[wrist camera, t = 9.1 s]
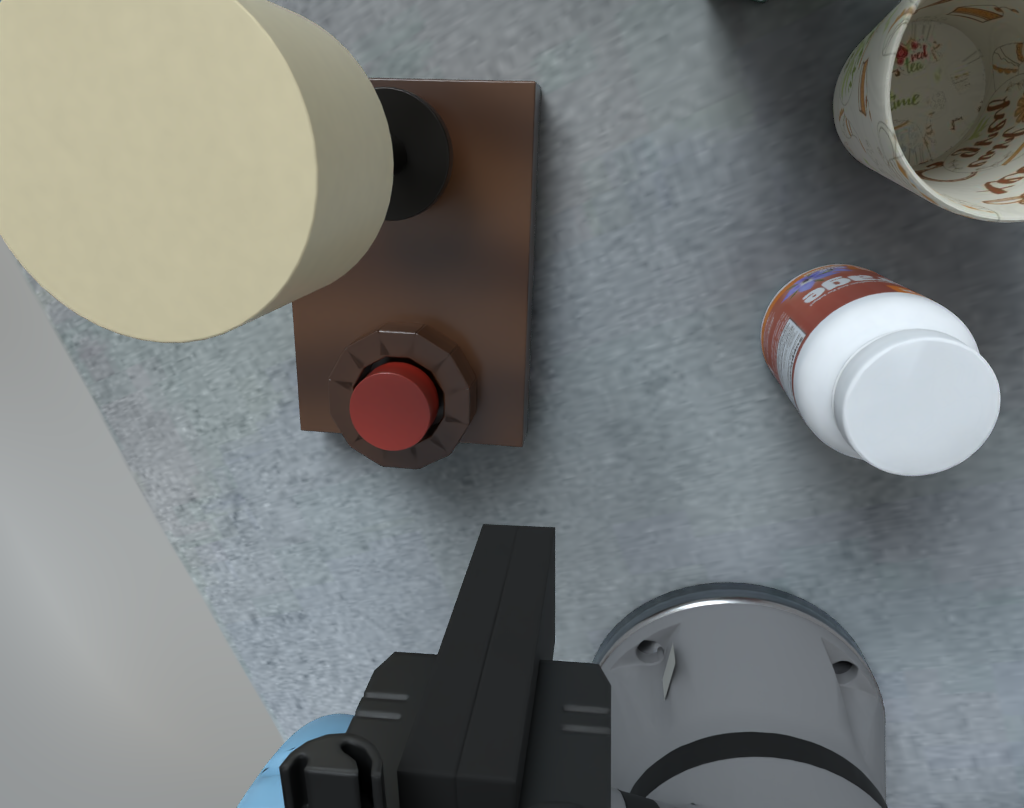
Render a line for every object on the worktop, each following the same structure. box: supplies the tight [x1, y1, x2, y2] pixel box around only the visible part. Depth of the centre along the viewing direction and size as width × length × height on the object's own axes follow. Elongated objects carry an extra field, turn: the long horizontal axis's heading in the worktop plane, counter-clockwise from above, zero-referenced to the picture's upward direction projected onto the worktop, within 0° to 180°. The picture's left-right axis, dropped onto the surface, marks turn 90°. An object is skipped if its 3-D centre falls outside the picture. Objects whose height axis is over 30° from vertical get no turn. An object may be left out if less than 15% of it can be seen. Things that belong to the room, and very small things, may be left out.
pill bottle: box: [761, 264, 1000, 476], centre depth 28 cm, size 6×6×11 cm
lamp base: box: [292, 78, 541, 469], centre depth 33 cm, size 17×11×4 cm, turn 178°
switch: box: [349, 362, 439, 451], centre depth 33 cm, size 4×4×2 cm
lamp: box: [0, 0, 453, 343], centre depth 22 cm, size 7×7×17 cm
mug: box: [833, 0, 1024, 223], centre depth 25 cm, size 8×13×10 cm, turn 22°
